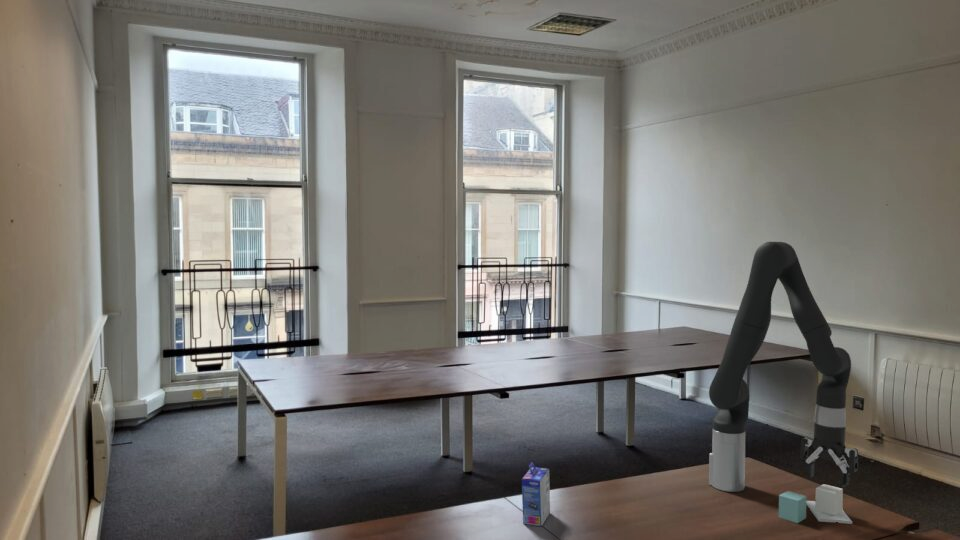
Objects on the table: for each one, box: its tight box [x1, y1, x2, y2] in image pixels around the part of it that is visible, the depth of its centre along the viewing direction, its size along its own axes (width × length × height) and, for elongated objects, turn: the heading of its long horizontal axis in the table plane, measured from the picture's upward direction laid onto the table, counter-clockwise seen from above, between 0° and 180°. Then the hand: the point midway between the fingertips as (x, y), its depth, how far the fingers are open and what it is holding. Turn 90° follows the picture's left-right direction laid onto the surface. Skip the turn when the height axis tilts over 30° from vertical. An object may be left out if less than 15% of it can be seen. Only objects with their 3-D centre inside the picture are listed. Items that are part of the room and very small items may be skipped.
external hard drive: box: [806, 500, 853, 525], centre depth 183 cm, size 2×8×12 cm
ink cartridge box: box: [521, 461, 551, 527], centre depth 180 cm, size 10×6×14 cm, turn 161°
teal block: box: [778, 490, 807, 524], centre depth 180 cm, size 5×5×6 cm
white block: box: [814, 483, 844, 516], centre depth 182 cm, size 5×5×6 cm
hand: (827, 481), depth 182 cm, fingers open, 8 cm apart
